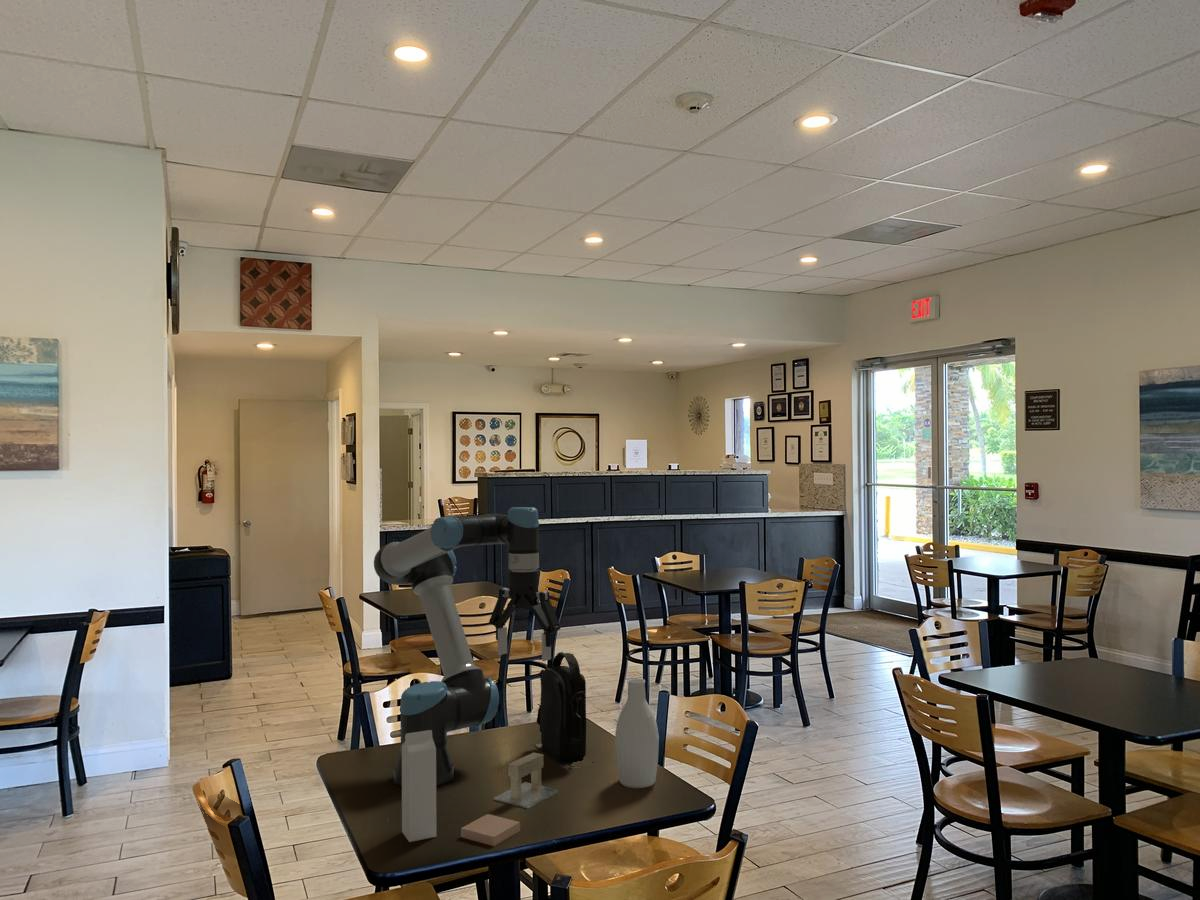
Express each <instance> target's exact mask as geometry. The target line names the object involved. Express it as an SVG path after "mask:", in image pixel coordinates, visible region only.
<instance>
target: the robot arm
mask: <svg viewBox="0 0 1200 900" xmlns="http://www.w3.org/2000/svg"><path fill="white" fill-rule="evenodd" d="M539 526H540V522H539V511H538V509H537V508H536V507H533V506H531V507H530V506H529V507H528V506H526V507H525V506H520V507H519V506H518V507H517V506H515V507H510V508H508V510H507V514H501V513H496V512H495V513H488V514H479V515H447V516H441V517H437V518H436V519H434V521H433V522H432V524H431V526H430V527H429V528H427V529H425V530H424V531H421V532H419V533H417V534H414V535H412V536H411V537H409V538H407V539H405V540H402V541H391V542H390V543H388V544H386V545H383V546H382V547H381V548H379V549H378V550H377V552H376V553H375V556H374V558H373V568H374V572H375V574H376V575H377V576H378V578H379V579H381V580H382V581H383V582H385V583H387V584H391V585H395V586H401V585H402V586H403V585H410V586H411V588H412V593H413V594H414V595H417V596H418V597H420V599H421V603H422V606H423V609H424V614H425V617H426V621H427V623H428V626H429V629H430V634H431V637H432V640H433V643H434V647H435V650H436V653H437V657H438V660H439V663H440V668H441V671H442V673H443V677H442V679H441V681H440V680H439V681H438V680H431V681H424V682H419V683H415V684H413V685H411V686H409V687H407V688H406V689H405V690H403V692H402V693H401V695H400V702H399V703H400V704H399V705H400V706H399V713H400V717H399V719H400V749H399V753H398V757H397V761H396V766H395V767H394V770H393V783H394V784H396V785H398V786H400V787H402V744H403V743H404V742H405V735H406V734H407V733H414V732H421V731H428V730H432V738H433V741H434V744H435V747H436V787H438V786H441V785H444V784H446V783H449V782H450V781H452V780H453V779H454V777H455V768H454V763H452V759H451V755H450V753H449V752H450V750H449V749H448V740H447V739H448V738H447V737H448V735H447V734H448V733H450V732H454V731H458V730H462V729H463V730H464V729H468V728H470V727H471V728H472V727H478V726H481V725H482V724H486V723H489V722H491V720H493V719H494V717H495V716H496V714H497V711H498V708H499V702H500V696H499V690H498V687H497V683H496V682H495V681H494V680H493V678H491V677H486V676H485V675H484V673H483V672H484V671H483V669H482V668H481V667H479V666H476V665H475V663H474V659H473V655H472V653H471V650H470V646H469V643H468V639H467V637H466V634H465V631H464V627H463V623H462V621H461V618H460V615H459V611H458V608H457V605H456V603H455V597H454V596H453V593H452V589H451V586H452V584H453V583H454V577H455V576H456V574H457V573H456V572H457V569H458V568H457V566H456V565H457V559H456V554H455V553H454V550H456V549H459V548H463V547H471V546H474V547H475V546H485V545H487V546H488V545H489V546H490V545H507V553H508V555H507V556H508V558H507V560H508V562H507V563H508V566H507V568H508V569H509V571H508V577H507V578H508V586H509V587H502V588H500V589H499V590H498V596H497V597H498V598H497V600H496V603H495V606H494V607H493V611H492V613H491V616H490V618H489V620H488V623H489V625H491V626H494V628H495V641H497V655H498V656H502V655H505V654H508V627H507V625H506V623H507V622H508V621H509V619H510V617H512V616H513V614H514V612H515V611H516V609H523V610H528V611H529V612H531V613H532V615H533V617H534V618H535V620H536V621H537V622H538V624H539V626H540V628H542V631H543V633H541V662H547V661H550V660H552V647H553V646H554V633H555V632H557V631H560V630H561V626H560V623H559V620H558V618H557V615H556V612H555V610H554V608H553V607H554V606H553V605H552V602H551V599H550V592H549V591H548V590H544V591H539V589H538V588H539V585H540V572H539V571H538V570H537V569H539V568H540V553H539V548H540V547H539V546H540V545H539V544H540V543H539V542H540V541H539V540H540V539H539V538H540V537H539V536H540V534H539V533H540V532H539V531H540V527H539ZM509 597H510V600H509V602H508V599H509ZM507 602H508V603H507ZM505 607H506V608H505Z"/></svg>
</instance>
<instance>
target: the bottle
mask: <svg viewBox="0 0 1200 900" xmlns="http://www.w3.org/2000/svg"><path fill="white" fill-rule="evenodd" d="M645 684H646V680H645V678H644V679H643V678H630V679H627V700H626V702H625V703H624V705H623V707H622V709H621V710H620V713H619V715H618V719H617V723H616V728H615V735H614V747H615V748H614V749H615V763H616V768H617V776H618V782H619V783H620V784H621V785H622V786H623V787H626V788H629V789H630V788H631V789H645V788H649V787H652V786H653V785H654V784H655V783H656V779H657V773H658V763H659V747H660V745H659V744H660V743H659V741H660V740H659V739H660V736H659V735H660V734H659V729H658V724H657V719H656V717H655V714H654V712H653V710H652V708H651V707H650V705H649V703H648V702H647V699H646V687H645V686H646V685H645Z"/></svg>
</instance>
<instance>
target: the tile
mask: <svg viewBox="0 0 1200 900" xmlns="http://www.w3.org/2000/svg"><path fill="white" fill-rule="evenodd" d="M519 832H521V822H520V821H517V820H514V819H510V818H505V817H501V816H497V815H493V814H489V813H487V814H485V815H483V816H481V817H480V818H477V819H476V820H474V821H472V822H470V823H468V824H466V825H465V826H463V827H460V838H463V839H467V840H470V841H473V842H477V843H479V844H480V843H481V844H484V845H489V846H490V847H491V846H492V847H496V846H497V845H499V844H501V843H502V842H504V841H506V840H507V839H509V838H510V837H512V836H515V835H516V834H517V833H519Z"/></svg>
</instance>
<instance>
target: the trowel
mask: <svg viewBox="0 0 1200 900" xmlns="http://www.w3.org/2000/svg"><path fill="white" fill-rule="evenodd" d="M544 760H545V759H544V753H538V752H532V753H529V754H527V755H525V756H523V757H520V758H518V759H516V760H514V761H511V762H509V763H508V764H507V773H508V775H507V776H508V778H510V789H508V790H506V791H504V792H502V793H500V794H498V795H496V796H494V798H493V800H494V801H496V802H500V803H504V804H509V805H513V806H515V807H519V808H524V809H529V808H532V807H533V806H535V805H537V804H539V803H540V802H543V801H544V800H547V799H549V798H550V797H552V796H553V795H555V794H557V793H558V792H559V791H558V790H559V789H557V788H551V787H548V786H543V785H542V768H544V763H545V762H544ZM529 774H530V782H527V781H524V782H522V778H523V777H526V776H528V775H529Z"/></svg>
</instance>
